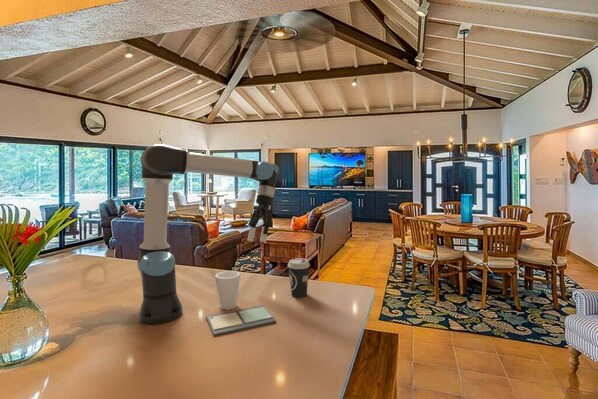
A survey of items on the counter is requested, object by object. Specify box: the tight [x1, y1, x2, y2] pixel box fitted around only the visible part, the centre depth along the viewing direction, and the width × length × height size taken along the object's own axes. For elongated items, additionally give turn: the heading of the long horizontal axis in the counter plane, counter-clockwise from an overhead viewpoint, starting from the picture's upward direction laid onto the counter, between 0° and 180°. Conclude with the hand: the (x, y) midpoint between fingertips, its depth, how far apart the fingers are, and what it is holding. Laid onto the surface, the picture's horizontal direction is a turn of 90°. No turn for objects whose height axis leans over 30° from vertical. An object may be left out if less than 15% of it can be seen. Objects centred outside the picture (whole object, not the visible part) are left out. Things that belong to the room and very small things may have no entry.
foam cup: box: [214, 270, 241, 310], centre depth 137 cm, size 10×9×13 cm
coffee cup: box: [287, 257, 311, 299], centre depth 147 cm, size 10×10×15 cm
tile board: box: [205, 304, 277, 337], centre depth 125 cm, size 22×15×1 cm
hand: (256, 241), depth 156 cm, fingers open, 13 cm apart
